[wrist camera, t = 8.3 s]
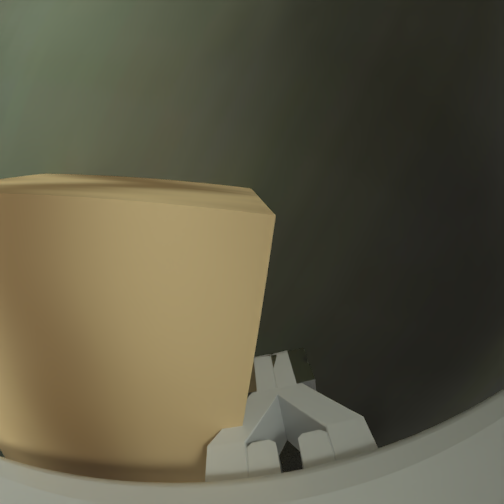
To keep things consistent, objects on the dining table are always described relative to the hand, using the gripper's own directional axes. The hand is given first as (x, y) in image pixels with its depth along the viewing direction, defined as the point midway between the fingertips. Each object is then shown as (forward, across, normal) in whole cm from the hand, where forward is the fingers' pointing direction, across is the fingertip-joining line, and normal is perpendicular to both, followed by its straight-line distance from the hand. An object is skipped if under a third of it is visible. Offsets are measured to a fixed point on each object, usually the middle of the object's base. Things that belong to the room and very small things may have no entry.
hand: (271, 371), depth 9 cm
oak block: (+3, +5, -2) cm, 6 cm away
